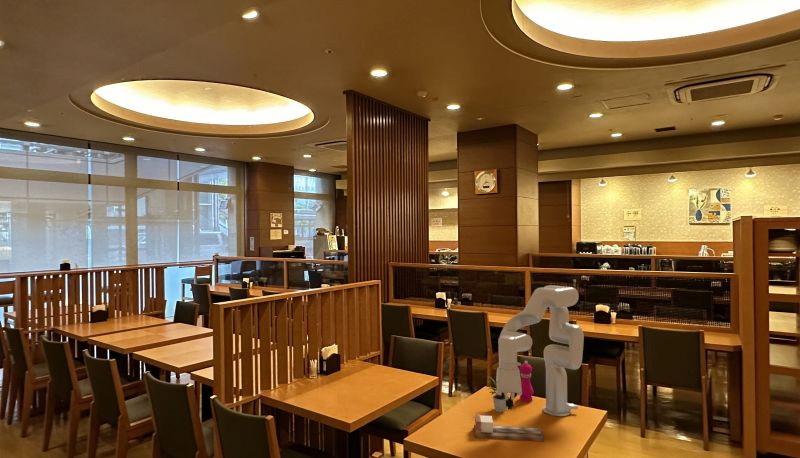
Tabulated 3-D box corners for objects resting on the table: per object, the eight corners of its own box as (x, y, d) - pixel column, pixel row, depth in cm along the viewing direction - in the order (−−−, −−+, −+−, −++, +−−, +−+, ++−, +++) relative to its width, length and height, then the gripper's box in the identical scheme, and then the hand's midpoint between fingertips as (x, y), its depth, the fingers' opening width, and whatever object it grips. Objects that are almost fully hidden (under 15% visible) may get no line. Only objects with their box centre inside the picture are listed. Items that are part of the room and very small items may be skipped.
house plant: (484, 402, 228) (484, 370, 228) (512, 404, 225) (512, 371, 225) (484, 413, 214) (484, 378, 214) (514, 415, 211) (514, 380, 211)
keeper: (491, 426, 196) (491, 416, 196) (493, 433, 189) (493, 422, 189) (479, 425, 196) (479, 415, 196) (480, 432, 189) (480, 422, 189)
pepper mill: (534, 403, 227) (533, 363, 228) (519, 402, 229) (519, 362, 229) (532, 398, 234) (532, 359, 235) (518, 397, 236) (518, 358, 236)
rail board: (539, 430, 195) (539, 416, 195) (544, 441, 185) (544, 425, 185) (474, 427, 198) (473, 413, 198) (475, 437, 188) (475, 422, 188)
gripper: (524, 362, 195) (526, 404, 195) (489, 362, 197) (491, 404, 197) (527, 368, 188) (529, 412, 188) (491, 368, 189) (492, 411, 190)
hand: (509, 408), depth 192 cm, fingers closed
